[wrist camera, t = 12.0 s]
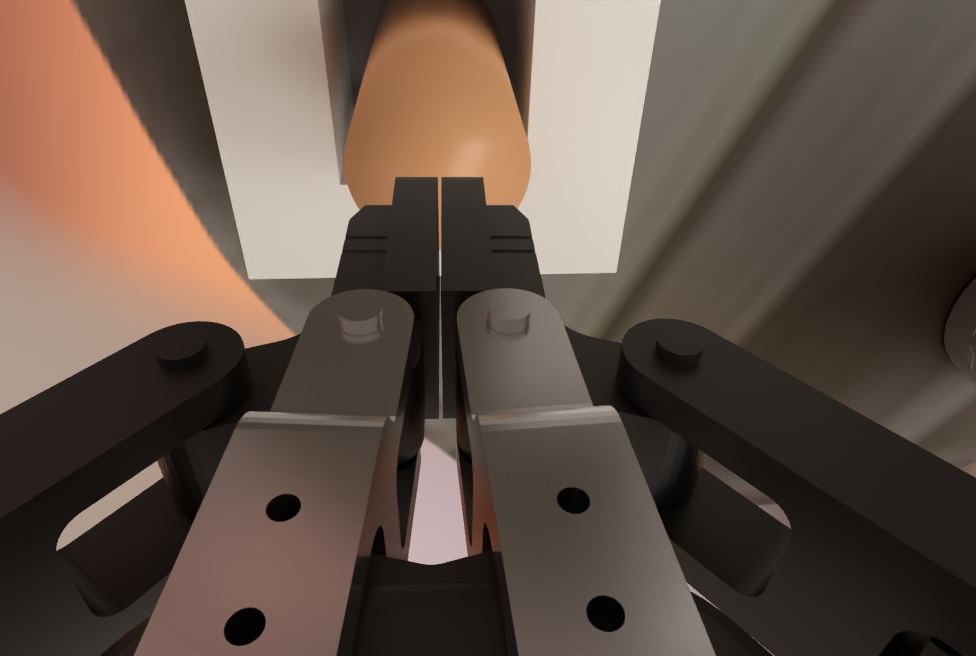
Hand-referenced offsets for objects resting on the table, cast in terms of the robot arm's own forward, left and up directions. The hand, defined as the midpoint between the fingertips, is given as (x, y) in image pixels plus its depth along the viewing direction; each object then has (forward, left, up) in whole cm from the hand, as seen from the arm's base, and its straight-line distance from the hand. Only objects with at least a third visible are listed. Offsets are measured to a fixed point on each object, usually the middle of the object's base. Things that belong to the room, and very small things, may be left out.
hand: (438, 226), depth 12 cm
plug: (0, 0, -13) cm, 13 cm away
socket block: (0, 0, -14) cm, 14 cm away
